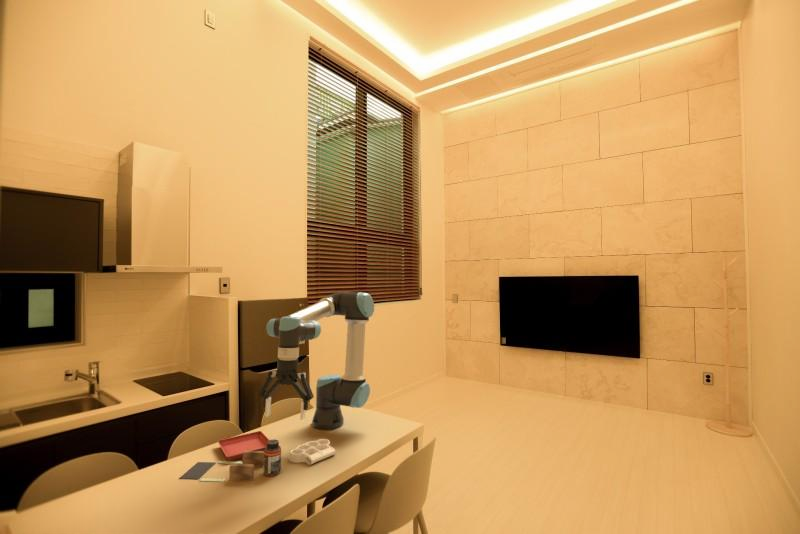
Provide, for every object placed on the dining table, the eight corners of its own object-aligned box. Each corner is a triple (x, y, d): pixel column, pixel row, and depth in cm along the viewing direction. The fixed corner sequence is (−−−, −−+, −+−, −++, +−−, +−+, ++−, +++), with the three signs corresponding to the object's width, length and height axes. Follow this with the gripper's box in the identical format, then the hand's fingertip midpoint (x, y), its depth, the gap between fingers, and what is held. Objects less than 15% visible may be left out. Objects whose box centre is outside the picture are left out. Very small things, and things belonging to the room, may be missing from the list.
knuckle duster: (304, 470, 143) (282, 457, 153) (341, 453, 157) (319, 443, 166) (304, 460, 143) (283, 449, 153) (341, 445, 157) (319, 435, 166)
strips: (241, 462, 148) (241, 461, 148) (223, 482, 133) (223, 481, 133) (220, 461, 148) (220, 460, 148) (199, 481, 134) (199, 480, 134)
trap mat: (215, 463, 147) (215, 462, 147) (198, 479, 135) (198, 478, 135) (197, 462, 147) (197, 461, 147) (179, 478, 135) (179, 478, 135)
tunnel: (265, 464, 146) (265, 451, 146) (251, 480, 134) (252, 466, 134) (244, 463, 146) (244, 450, 147) (229, 480, 134) (229, 465, 135)
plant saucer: (226, 465, 146) (226, 456, 146) (216, 448, 161) (216, 440, 161) (273, 453, 157) (274, 444, 157) (260, 438, 171) (260, 430, 171)
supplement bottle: (263, 470, 142) (263, 439, 142) (279, 467, 144) (280, 437, 144) (264, 478, 136) (265, 445, 137) (281, 475, 139) (282, 443, 139)
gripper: (251, 358, 140) (247, 417, 139) (316, 362, 137) (314, 423, 135) (261, 355, 148) (258, 411, 146) (323, 358, 144) (321, 416, 143)
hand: (285, 417), depth 141 cm, fingers open, 13 cm apart
